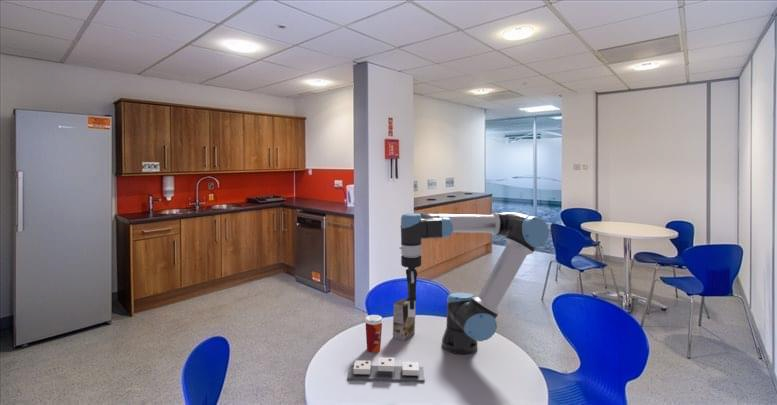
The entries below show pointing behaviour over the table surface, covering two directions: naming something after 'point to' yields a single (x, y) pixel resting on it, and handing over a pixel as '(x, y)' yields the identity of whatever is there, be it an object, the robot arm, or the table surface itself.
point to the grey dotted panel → (386, 375)
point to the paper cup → (373, 332)
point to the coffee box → (402, 321)
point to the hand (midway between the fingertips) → (411, 316)
